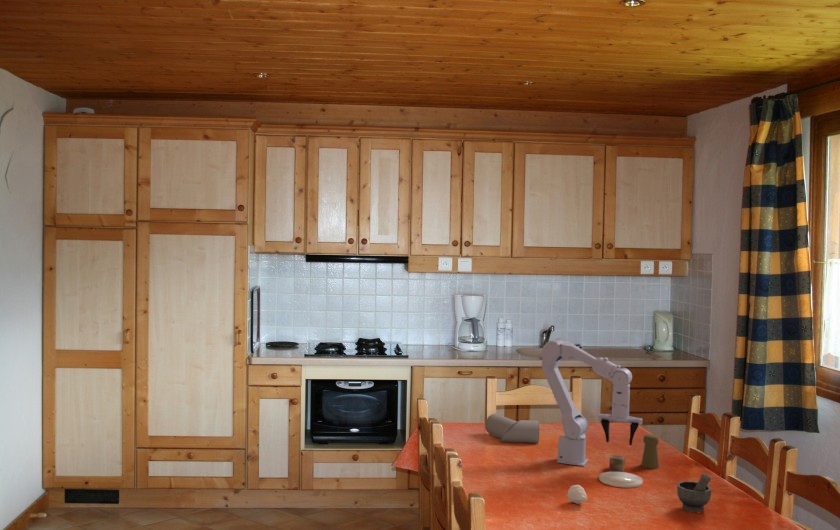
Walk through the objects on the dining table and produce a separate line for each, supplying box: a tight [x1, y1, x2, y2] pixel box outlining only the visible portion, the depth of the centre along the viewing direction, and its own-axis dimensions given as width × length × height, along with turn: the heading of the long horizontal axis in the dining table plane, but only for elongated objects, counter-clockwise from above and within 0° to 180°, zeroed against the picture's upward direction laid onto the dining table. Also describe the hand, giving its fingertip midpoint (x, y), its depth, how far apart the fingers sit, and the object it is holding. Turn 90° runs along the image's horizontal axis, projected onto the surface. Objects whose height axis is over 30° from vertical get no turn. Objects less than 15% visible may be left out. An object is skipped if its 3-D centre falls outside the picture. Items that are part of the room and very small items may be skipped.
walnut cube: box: [608, 454, 626, 472], centre depth 268 cm, size 4×4×4 cm
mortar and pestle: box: [676, 473, 712, 513], centre depth 230 cm, size 11×9×12 cm
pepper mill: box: [641, 434, 660, 470], centre depth 273 cm, size 6×6×11 cm
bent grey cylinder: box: [484, 413, 540, 444], centre depth 305 cm, size 18×10×20 cm
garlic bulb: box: [567, 484, 588, 505], centre depth 232 cm, size 6×6×5 cm
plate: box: [598, 471, 644, 489], centre depth 256 cm, size 14×14×1 cm
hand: (619, 442), depth 268 cm, fingers open, 7 cm apart
